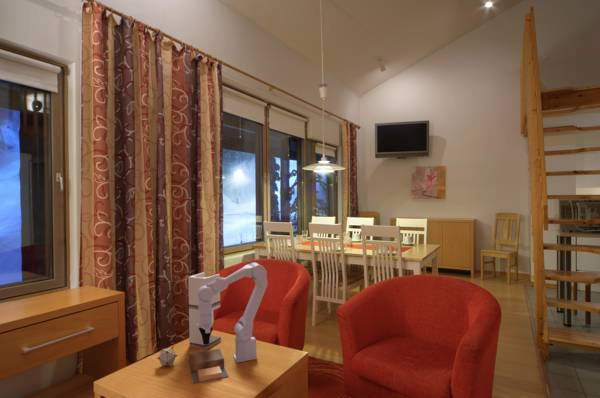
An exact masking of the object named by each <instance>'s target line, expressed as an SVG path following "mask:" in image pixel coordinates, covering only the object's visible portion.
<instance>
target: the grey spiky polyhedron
mask: <svg viewBox="0 0 600 398" xmlns="http://www.w3.org/2000/svg"><path fill="white" fill-rule="evenodd" d="M160 351H161V352H160V354H159V356H158V357H157V358H156V359H157V360H159V362H160V365H161V366H160V368H161V369H162V368H163V367H168V366H172V367H175V366H174V362H175V359H176V357H178V354H176V352H175V351H174V346H172V347H169V348H163V347H160Z"/></svg>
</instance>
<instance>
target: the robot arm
mask: <svg viewBox="0 0 600 398" xmlns="http://www.w3.org/2000/svg"><path fill="white" fill-rule="evenodd" d="M267 276H268V272H267V270H266V268H265V266H263V265H261V264H260V263H258V262H255V261H253V262H250V263H248V264H245V265H244V266H242V267H241V268H239V269H237V270H236V271H234V272H233V273H231V274H230V275H228V276H226V277H223V276H222V277H221V276H220V278H219V277H218V278H216V280H215V281H213V282H211V283H209V284H208V283H207V284H206V285H207V286H201V287H200V288H199V289H198V292H197V295H198V296H199V304H198V307H199V323H198V324H196V326H197V327H200V328H199V331H200V333H201V335H202V340H203V344H204V345H205V344H209V339H210V335H211V334H212V332H213V331H214V330H213V324H214V323H213V322H212V303H211V298H212V297H213V295H216V294H217V293H219V292H220V293H221V292H223V291H224V290H227V288H228V287H229V285H230V284H232V283H234V282H236V281H238V280H241V279H242V278H243V279H244V278H252V279H253V281H254V283H255V285H254V288H253V290H252V293H251V295H250V298H249V300H248V302H247V305H246V307H245V310H244V312H243V314H242V316H241V317H239V320H238V322H236V323H235V325H234V327H233V328H234V329H233V330H234V333H235V334H236V336H235V338H234V339H235V340H234V341H235V346H234V347H235V354H233V359H234V360H235V362H236V363H242V362H247V361H252V360H253V361H254V360H257V359H258V357H257V356H258V355H257V340H256V337H255V336H253V330H254V329H253V328H254V320H255V318H256V315H257V312H258V309H259V307H260V305H261V302H262V299H263V297H264V294H265V292H266V290H267V287H268V277H267Z"/></svg>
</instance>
